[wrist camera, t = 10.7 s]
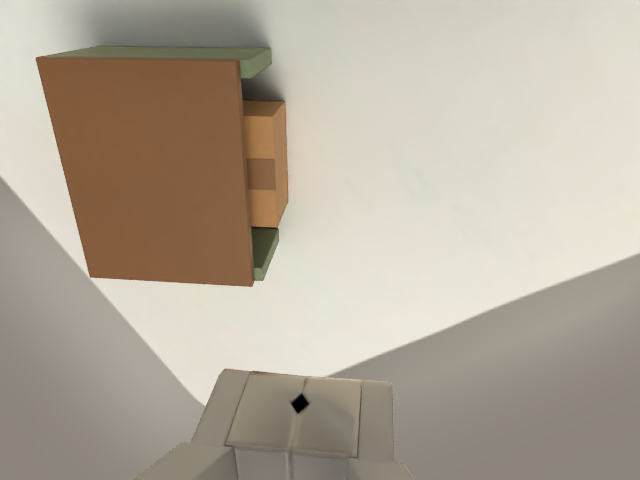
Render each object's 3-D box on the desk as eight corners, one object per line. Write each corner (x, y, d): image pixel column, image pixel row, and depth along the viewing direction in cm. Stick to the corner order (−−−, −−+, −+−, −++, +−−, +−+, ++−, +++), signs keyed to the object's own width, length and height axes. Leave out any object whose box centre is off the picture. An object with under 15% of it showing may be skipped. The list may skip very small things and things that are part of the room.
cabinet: (271, 48, 28) (246, 60, 22) (279, 240, 33) (260, 287, 28) (98, 45, 29) (34, 57, 23) (134, 233, 34) (89, 277, 29)
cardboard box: (285, 101, 29) (272, 116, 25) (288, 201, 32) (277, 228, 28) (164, 98, 30) (135, 112, 26) (178, 197, 33) (153, 222, 29)
